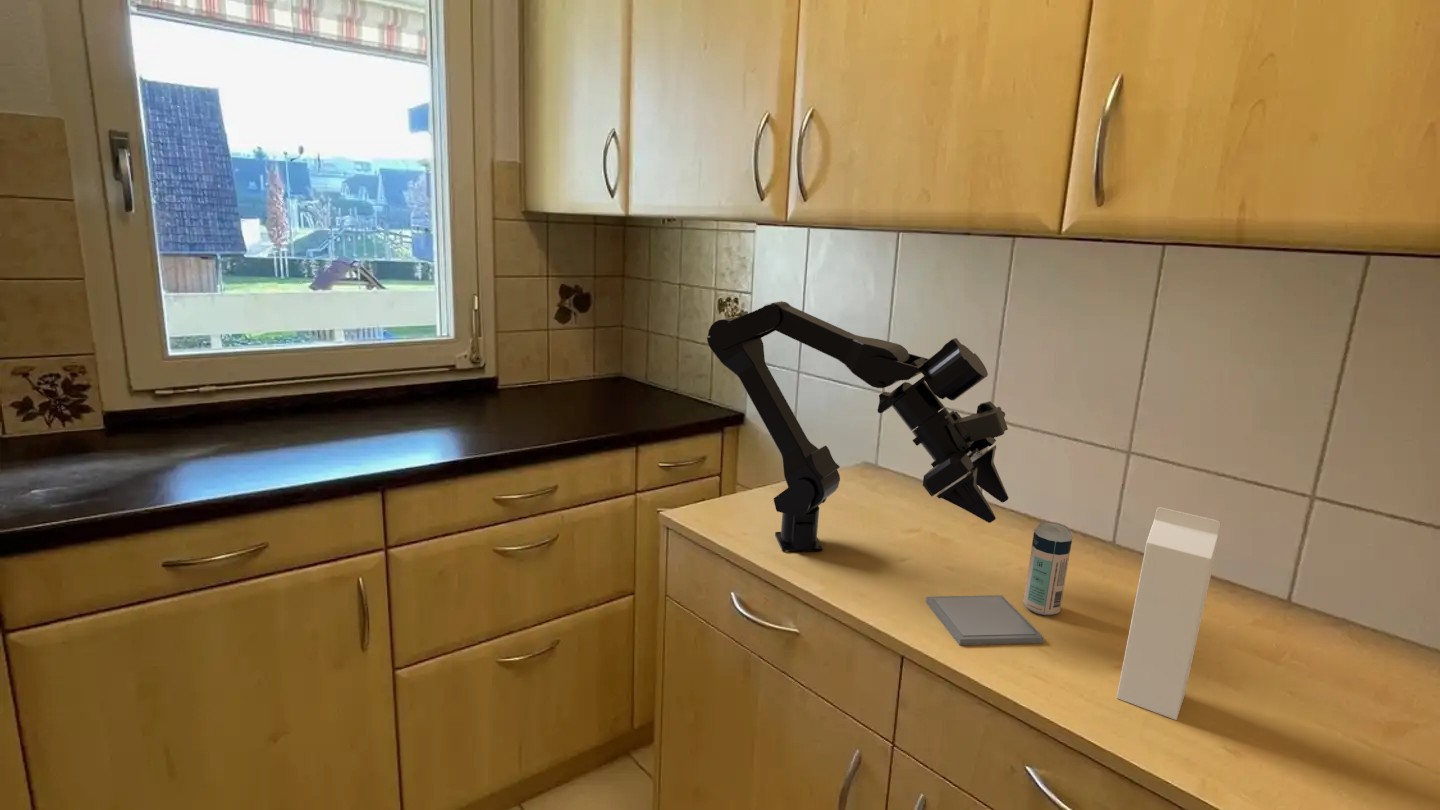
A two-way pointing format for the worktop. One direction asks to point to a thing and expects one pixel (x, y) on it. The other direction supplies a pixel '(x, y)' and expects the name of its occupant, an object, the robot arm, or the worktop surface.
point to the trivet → (983, 620)
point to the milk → (1168, 611)
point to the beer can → (1047, 568)
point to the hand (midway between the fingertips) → (999, 510)
